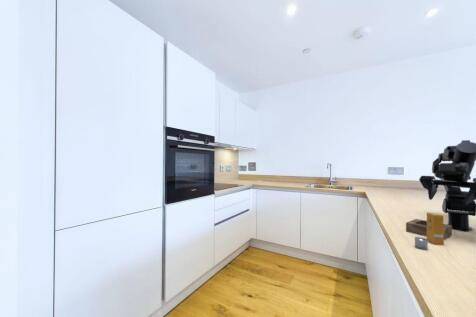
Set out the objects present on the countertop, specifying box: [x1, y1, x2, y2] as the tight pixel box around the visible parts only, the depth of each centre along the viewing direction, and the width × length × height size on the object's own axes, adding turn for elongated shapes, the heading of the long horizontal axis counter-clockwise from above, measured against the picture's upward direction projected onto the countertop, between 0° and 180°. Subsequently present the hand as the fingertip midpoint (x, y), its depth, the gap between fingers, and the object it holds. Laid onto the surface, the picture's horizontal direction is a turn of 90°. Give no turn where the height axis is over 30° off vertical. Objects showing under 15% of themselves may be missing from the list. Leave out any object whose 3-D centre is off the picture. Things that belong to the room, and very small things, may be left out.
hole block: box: [405, 218, 453, 240], centre depth 76 cm, size 10×10×4 cm
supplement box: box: [426, 212, 445, 246], centre depth 66 cm, size 3×3×10 cm
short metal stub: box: [414, 236, 429, 251], centre depth 62 cm, size 3×3×3 cm
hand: (446, 201), depth 70 cm, fingers open, 9 cm apart
